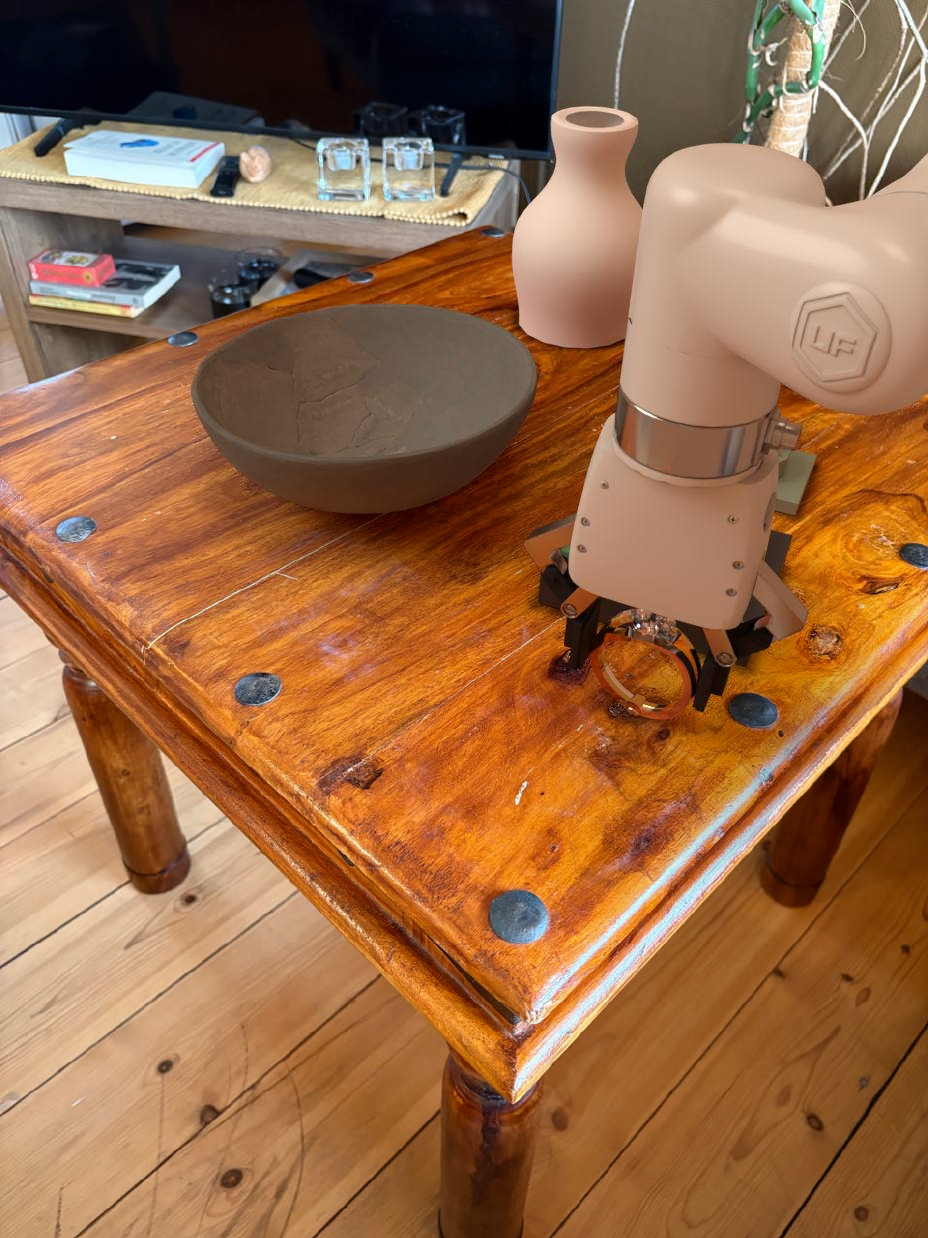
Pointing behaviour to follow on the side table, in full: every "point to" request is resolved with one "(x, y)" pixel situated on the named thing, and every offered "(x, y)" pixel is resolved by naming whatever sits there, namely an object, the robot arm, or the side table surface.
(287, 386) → the bowl
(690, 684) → the ring
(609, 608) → the scale
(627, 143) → the vase
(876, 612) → the side table surface
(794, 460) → the grey button housing
